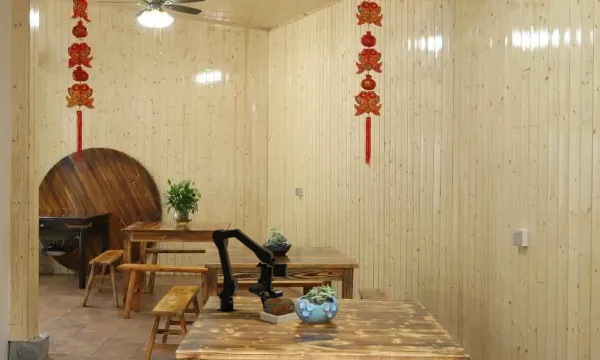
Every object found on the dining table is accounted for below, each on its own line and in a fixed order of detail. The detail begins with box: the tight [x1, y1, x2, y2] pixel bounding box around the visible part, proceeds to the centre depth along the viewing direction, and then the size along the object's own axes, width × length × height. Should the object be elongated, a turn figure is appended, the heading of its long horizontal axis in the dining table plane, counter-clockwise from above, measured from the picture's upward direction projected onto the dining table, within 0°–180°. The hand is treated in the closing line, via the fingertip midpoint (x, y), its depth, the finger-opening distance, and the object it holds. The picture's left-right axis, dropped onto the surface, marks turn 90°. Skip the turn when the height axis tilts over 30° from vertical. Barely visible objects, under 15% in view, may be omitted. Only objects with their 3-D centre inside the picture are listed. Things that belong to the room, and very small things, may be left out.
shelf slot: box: [259, 310, 300, 325], centre depth 269 cm, size 12×20×3 cm, turn 136°
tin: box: [262, 297, 296, 316], centre depth 273 cm, size 15×3×8 cm, turn 82°
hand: (265, 309), depth 278 cm, fingers closed
